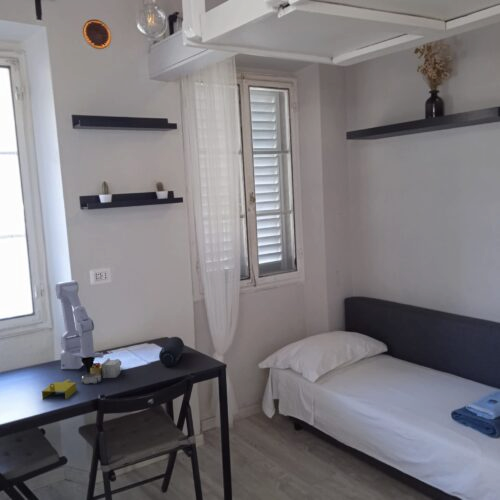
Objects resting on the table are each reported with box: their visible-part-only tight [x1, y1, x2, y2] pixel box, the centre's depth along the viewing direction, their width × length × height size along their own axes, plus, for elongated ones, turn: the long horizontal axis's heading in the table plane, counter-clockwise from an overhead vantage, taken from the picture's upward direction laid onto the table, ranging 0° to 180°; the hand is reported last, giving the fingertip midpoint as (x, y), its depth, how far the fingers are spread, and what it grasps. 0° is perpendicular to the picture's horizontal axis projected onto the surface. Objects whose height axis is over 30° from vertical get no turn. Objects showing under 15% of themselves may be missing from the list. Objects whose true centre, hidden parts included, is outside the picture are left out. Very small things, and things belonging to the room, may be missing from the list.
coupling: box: [101, 358, 122, 379], centre depth 255 cm, size 6×14×7 cm, turn 175°
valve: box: [89, 362, 103, 377], centre depth 253 cm, size 9×5×6 cm, turn 84°
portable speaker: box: [158, 336, 185, 367], centre depth 271 cm, size 25×10×10 cm, turn 179°
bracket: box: [41, 378, 78, 400], centre depth 232 cm, size 16×8×15 cm
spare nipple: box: [81, 373, 102, 385], centre depth 244 cm, size 8×3×3 cm, turn 89°
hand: (89, 372), depth 254 cm, fingers closed
